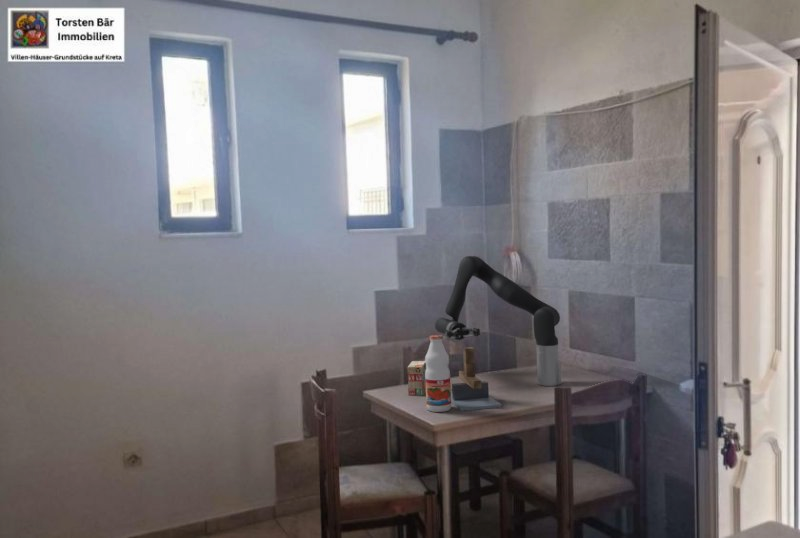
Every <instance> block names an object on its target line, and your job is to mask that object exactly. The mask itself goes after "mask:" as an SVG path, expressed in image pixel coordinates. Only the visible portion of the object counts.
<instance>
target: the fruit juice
mask: <svg viewBox="0 0 800 538" xmlns="http://www.w3.org/2000/svg"><path fill="white" fill-rule="evenodd" d="M443 339H444V337H443V335H442V334H431V335H429V341H430V343H429V346H428V348H427V349H428V350H427V353H426V354H425V357H424V361H425V363H426V367H427V368H426V371H425V382H426V392H425V402H426V405H425V406H426V410H427V411H429V412H432V413H442V412H448V411H450V410H451V409H452V403H451V392H452V385H451V372H450V368H449V362H450V357H449V354H448V353H447V351H446V349H445V346H444V343H443Z"/></svg>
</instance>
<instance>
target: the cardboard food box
mask: <svg viewBox="0 0 800 538" xmlns="http://www.w3.org/2000/svg"><path fill="white" fill-rule="evenodd" d="M426 368H427V367H426V363H425V360H412V361H411V362H410V363H409V364H408V366H407V369H406V370H407V382H408V383H407V384H408V385H407V389H408V390H407V392H408V393H407V394H408V396H424V395H425V394H426V382H425V371H426ZM423 394H424V395H423Z"/></svg>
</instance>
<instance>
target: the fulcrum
mask: <svg viewBox="0 0 800 538" xmlns="http://www.w3.org/2000/svg"><path fill="white" fill-rule="evenodd" d="M451 405H453V406H454V407H456V408H457V409H458V410H459V411H460V412H463V411H464V410H465V411H474V410H483V409H485V410H486V409H495V408H502V403H501V402H498V400H496V399H494V398H493V397H491V396H490V394H489V382H488V380H487V381H486V380H481V388H480V389H473V388H472V387H470V386H469V385H468V384H466V383H465V382H459V383H457V382H456V383H451Z"/></svg>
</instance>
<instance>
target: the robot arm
mask: <svg viewBox="0 0 800 538" xmlns="http://www.w3.org/2000/svg"><path fill="white" fill-rule="evenodd" d="M472 277H475V278H478V279H479V280H480V281H483V282H484V283H485V284H486V285H487V286H488V287H489V288H490V289H491V290H492V292H493V293H495V295H496V296H497V297H498V298H500V299H502V300H503V301H504V302H506V303H507V304H509V305H511V306H513V307H516V308H517V309H520V310H521V309H522V310H523V311H526V312H528V313H529V314H530V315H532V317H533V319H532V320H533V334H534V335H533V336H534V339H535V345H536V346H535V349H536V375H537V376H536V377H537V378H536V380H537V381H536V382H537V385H538V386H542V387H543V386H545V387H553V386H554V387H555V386H558V385H562V369H561V368H562V364H561V361H559V355H560V354H559V338H558V337H557V336H556V326H557V325H558V324H559V323H560V321H561V316H560V313H559V311H558V310H557V309H556V308H555V307H553V306H551V305H549V304H547V303H545V302H544V301H542V300H540V299H538V298H537V297H535V296H534V295H533V294H532V293H530V292H529V291H527V290H526V289H525V288H523V287H522V286H520V285H519V284H517V283H516V282H514V281H513V280H511V279H510V278H508V277H507V276H505V275H503V273H500V272H498V271H496V270H495V269H493V268H492V267H491V266H490V265H489V264H488V263H486V262H485V261H484V260H483V259H482V258H481V257H479V256H475V255H473V256H472V255H467V256H464V257H463V258H462V259H461V260H460V262H459V266H458V270H457V274H456V278H455V282H454V286H453V289H452V291H451V294H450V297H449V300H448V302H447V304H446V307H445V311H444V312H445V314H446V315H448V316H449V317H451V319H448V318H445V317H439V318H437V320H436V321H435V324H434V328H435V330H436V331H437V332H438V333H441V334H444V335H445V337H447V338H452V339H455V340H456V341H457V340H458V341H461V340H464V339H465V338H466V337H472V336H474V337H479V336H480V335H481V331H480V330H481V329H479V328H476V327H469V328H468V327H467V326H466V325H465V324H464V323H463V322H459V319H460V314H461V311H462V309H463V306H464V304H465V300H466V294H467V288H468V285H469V282H470V280H471V279H472Z"/></svg>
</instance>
